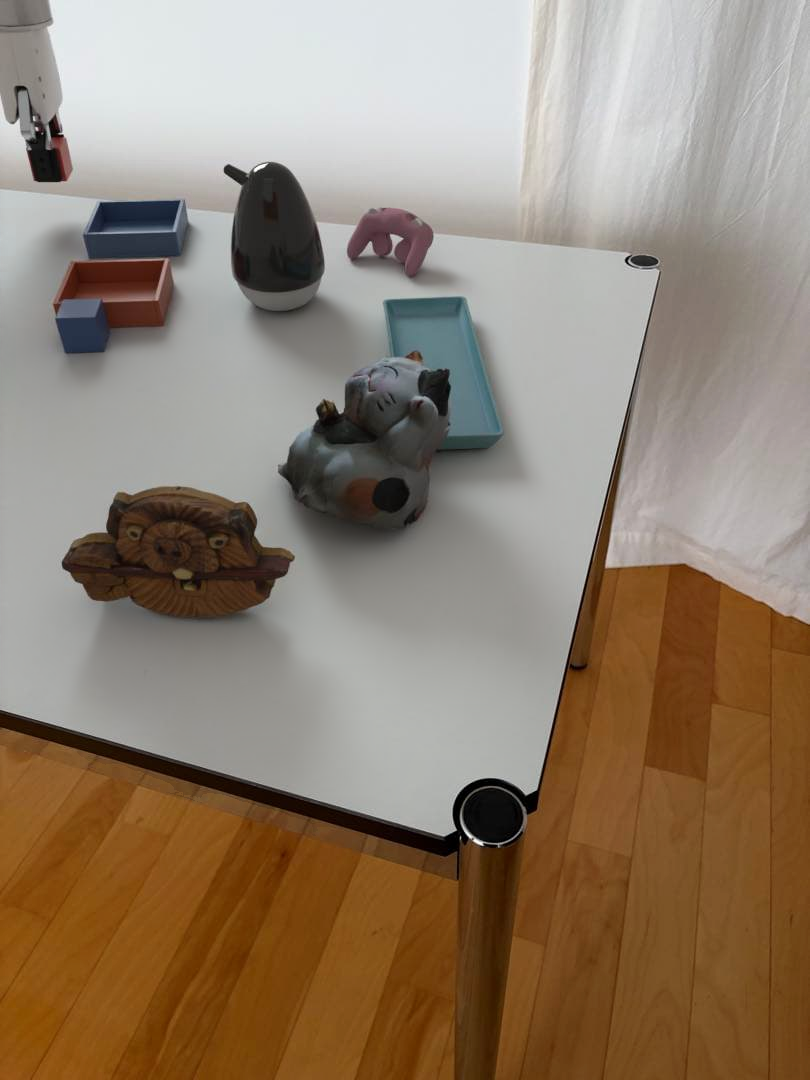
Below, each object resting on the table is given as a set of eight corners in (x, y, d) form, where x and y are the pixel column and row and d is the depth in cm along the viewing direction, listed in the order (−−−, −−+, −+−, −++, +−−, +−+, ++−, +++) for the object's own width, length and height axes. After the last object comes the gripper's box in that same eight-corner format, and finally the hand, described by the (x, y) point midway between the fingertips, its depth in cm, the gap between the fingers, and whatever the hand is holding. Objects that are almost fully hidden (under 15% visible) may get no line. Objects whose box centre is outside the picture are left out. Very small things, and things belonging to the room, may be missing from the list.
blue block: (64, 353, 93) (54, 318, 90) (72, 333, 96) (62, 299, 93) (103, 351, 93) (95, 317, 90) (110, 332, 96) (101, 298, 93)
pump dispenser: (261, 272, 106) (246, 139, 96) (341, 288, 104) (335, 153, 93) (217, 312, 99) (196, 173, 89) (302, 329, 97) (291, 188, 86)
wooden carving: (69, 628, 65) (31, 526, 58) (86, 584, 69) (52, 482, 62) (296, 629, 65) (285, 527, 59) (301, 584, 69) (291, 482, 62)
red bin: (59, 329, 97) (52, 303, 94) (77, 285, 104) (71, 261, 102) (163, 325, 97) (158, 300, 95) (173, 282, 104) (169, 258, 102)
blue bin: (88, 258, 109) (82, 234, 107) (102, 223, 116) (97, 200, 114) (180, 255, 110) (176, 232, 108) (188, 221, 117) (184, 198, 115)
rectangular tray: (382, 315, 99) (382, 295, 97) (464, 312, 100) (465, 292, 98) (401, 461, 80) (401, 438, 78) (503, 456, 81) (505, 434, 79)
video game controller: (428, 280, 108) (443, 220, 106) (410, 277, 105) (425, 215, 102) (360, 260, 112) (373, 202, 110) (341, 256, 108) (354, 196, 106)
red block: (33, 181, 112) (25, 148, 109) (41, 169, 115) (33, 137, 112) (66, 181, 112) (59, 148, 109) (73, 169, 115) (66, 137, 112)
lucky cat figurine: (270, 455, 80) (319, 305, 76) (393, 489, 84) (448, 349, 80) (285, 523, 67) (347, 347, 62) (431, 560, 71) (499, 397, 66)
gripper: (0, -8, 107) (37, 150, 119) (-41, 27, 95) (6, 200, 107) (64, -7, 107) (95, 151, 120) (32, 28, 95) (70, 200, 107)
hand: (53, 172), depth 113 cm, fingers closed on red block, 4 cm apart
